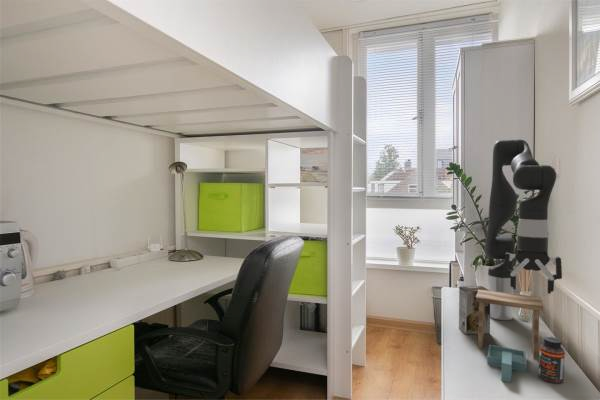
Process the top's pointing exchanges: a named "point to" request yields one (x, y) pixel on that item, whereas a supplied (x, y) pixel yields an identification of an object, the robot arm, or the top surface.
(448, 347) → the top surface
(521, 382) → the top surface
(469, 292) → the coffee box
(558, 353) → the supplement bottle
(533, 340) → the wooden bridge stand
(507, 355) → the dustpan
